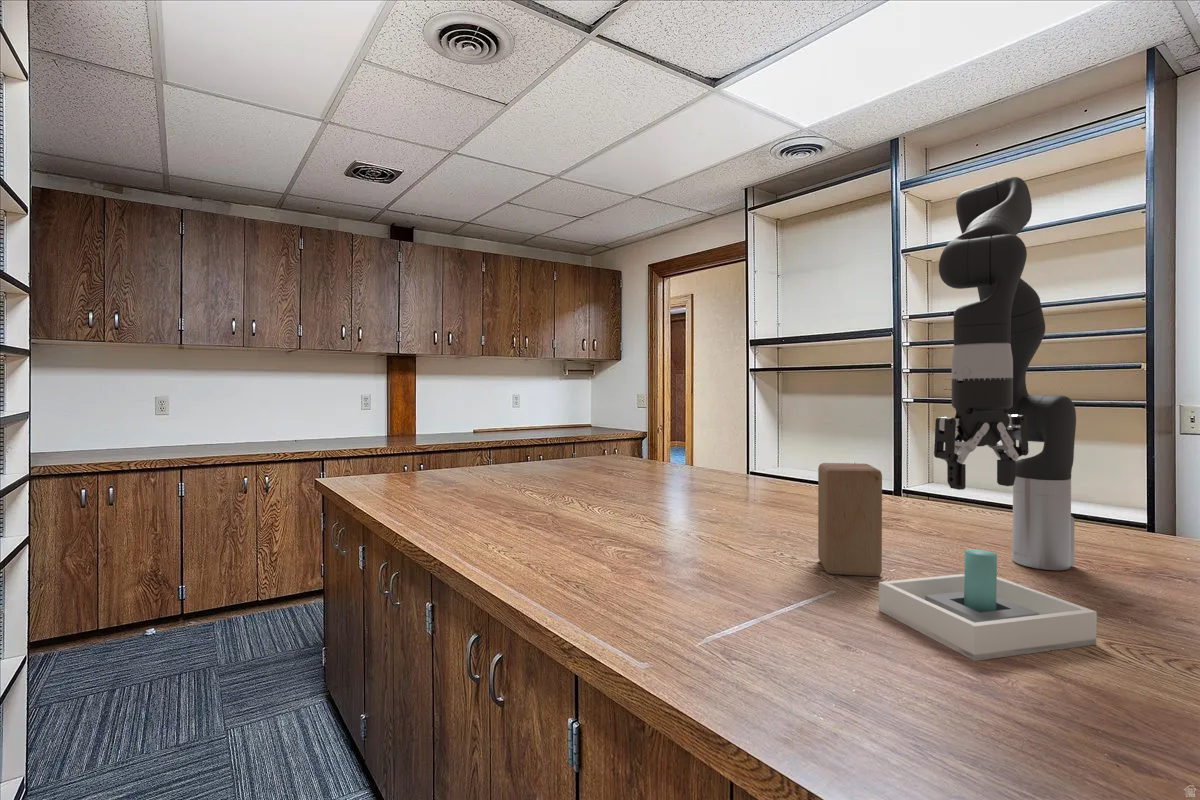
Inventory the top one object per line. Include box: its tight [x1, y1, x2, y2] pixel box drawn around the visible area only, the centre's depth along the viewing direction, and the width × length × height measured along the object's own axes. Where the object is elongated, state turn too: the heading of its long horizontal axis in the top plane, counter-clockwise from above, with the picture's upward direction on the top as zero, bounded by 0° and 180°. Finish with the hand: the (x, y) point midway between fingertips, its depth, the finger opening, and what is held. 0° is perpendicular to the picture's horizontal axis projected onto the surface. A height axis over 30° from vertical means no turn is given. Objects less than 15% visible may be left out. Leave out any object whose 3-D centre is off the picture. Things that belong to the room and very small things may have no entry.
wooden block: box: [817, 462, 883, 577], centre depth 116 cm, size 10×10×20 cm
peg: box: [963, 548, 998, 612], centre depth 88 cm, size 4×4×10 cm
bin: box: [878, 573, 1098, 662], centre depth 88 cm, size 20×18×4 cm
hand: (981, 487), depth 87 cm, fingers open, 8 cm apart
